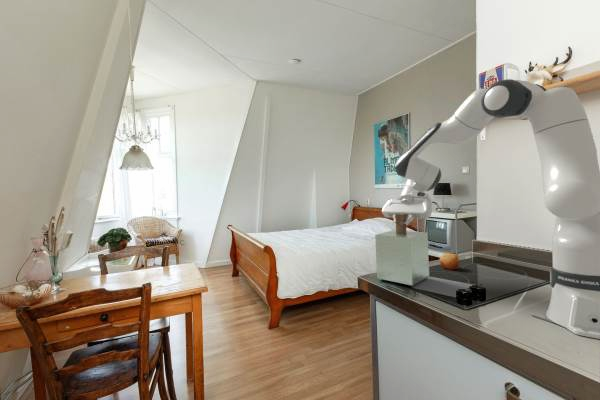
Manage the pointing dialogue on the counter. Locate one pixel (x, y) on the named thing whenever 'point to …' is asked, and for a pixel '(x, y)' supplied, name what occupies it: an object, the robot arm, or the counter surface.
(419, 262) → the cover
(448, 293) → the mat
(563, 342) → the counter surface
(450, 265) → the fruit
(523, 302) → the counter surface
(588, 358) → the counter surface
